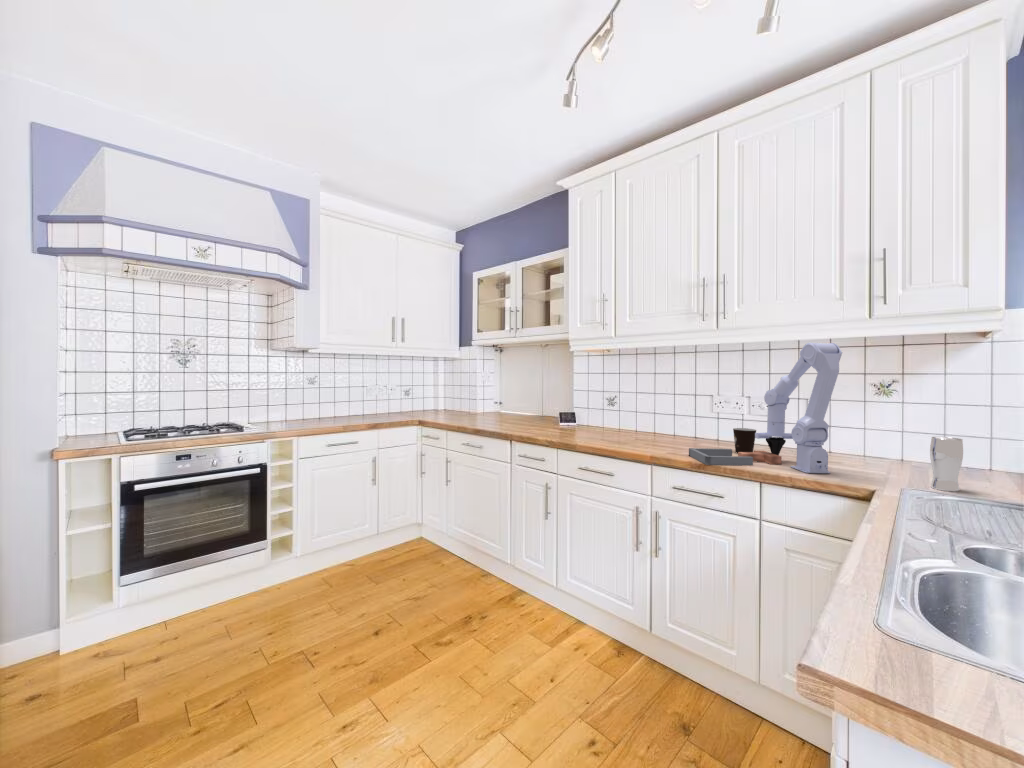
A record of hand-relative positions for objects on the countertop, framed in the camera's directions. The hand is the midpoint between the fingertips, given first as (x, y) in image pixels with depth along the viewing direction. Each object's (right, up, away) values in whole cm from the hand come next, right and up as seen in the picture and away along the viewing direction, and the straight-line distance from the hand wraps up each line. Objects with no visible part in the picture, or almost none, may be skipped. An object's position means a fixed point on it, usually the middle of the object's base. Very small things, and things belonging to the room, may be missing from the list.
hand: (775, 457), depth 170 cm
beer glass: (+27, -3, -39) cm, 47 cm away
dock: (-20, -1, +1) cm, 20 cm away
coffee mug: (-2, -1, +18) cm, 18 cm away
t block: (-7, -1, 0) cm, 7 cm away
